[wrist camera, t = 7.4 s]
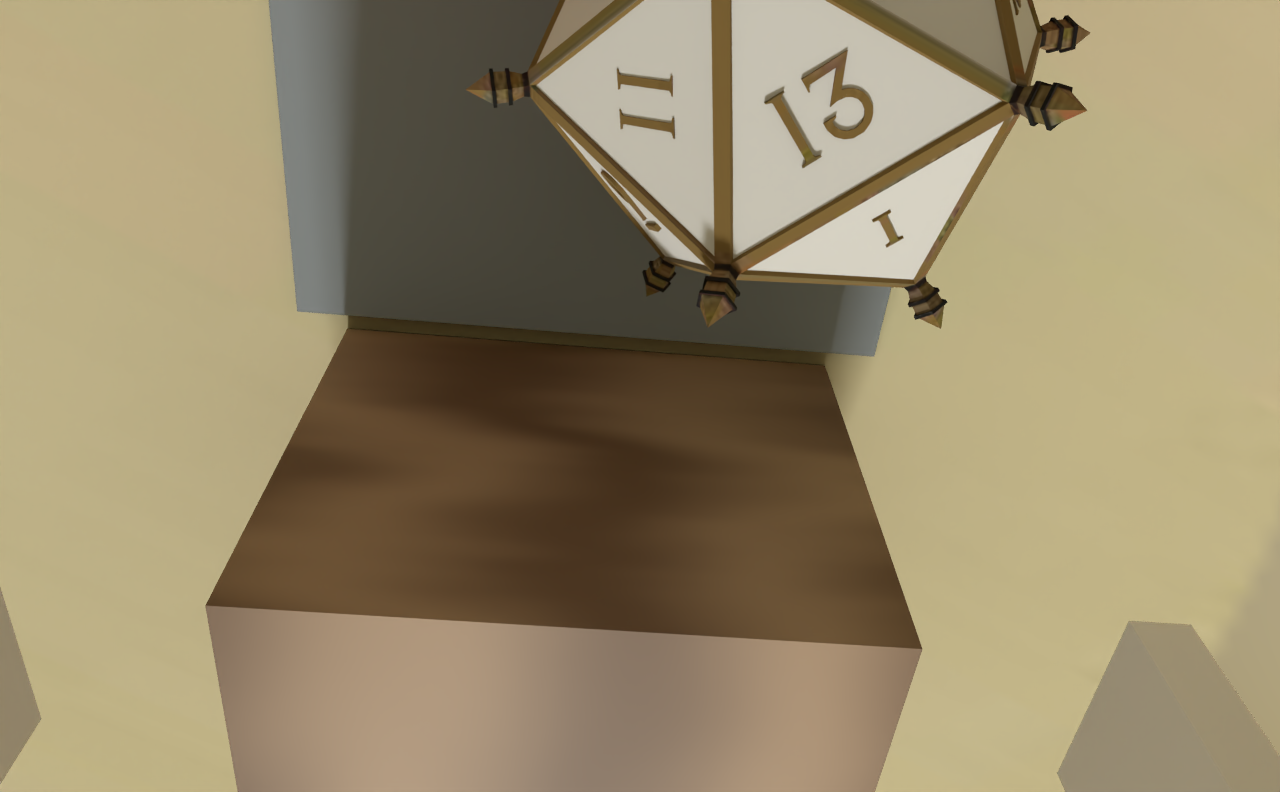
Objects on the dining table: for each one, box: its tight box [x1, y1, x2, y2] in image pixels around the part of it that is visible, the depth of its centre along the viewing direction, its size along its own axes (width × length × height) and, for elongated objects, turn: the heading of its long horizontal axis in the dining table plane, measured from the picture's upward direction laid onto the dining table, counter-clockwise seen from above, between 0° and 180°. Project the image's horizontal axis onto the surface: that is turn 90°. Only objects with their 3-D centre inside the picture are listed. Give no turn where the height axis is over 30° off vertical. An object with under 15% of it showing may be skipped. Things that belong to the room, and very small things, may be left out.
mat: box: [269, 0, 891, 356], centre depth 20 cm, size 13×11×1 cm
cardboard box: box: [206, 329, 922, 792], centre depth 21 cm, size 11×8×9 cm
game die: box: [466, 0, 1090, 328], centre depth 15 cm, size 9×8×10 cm
